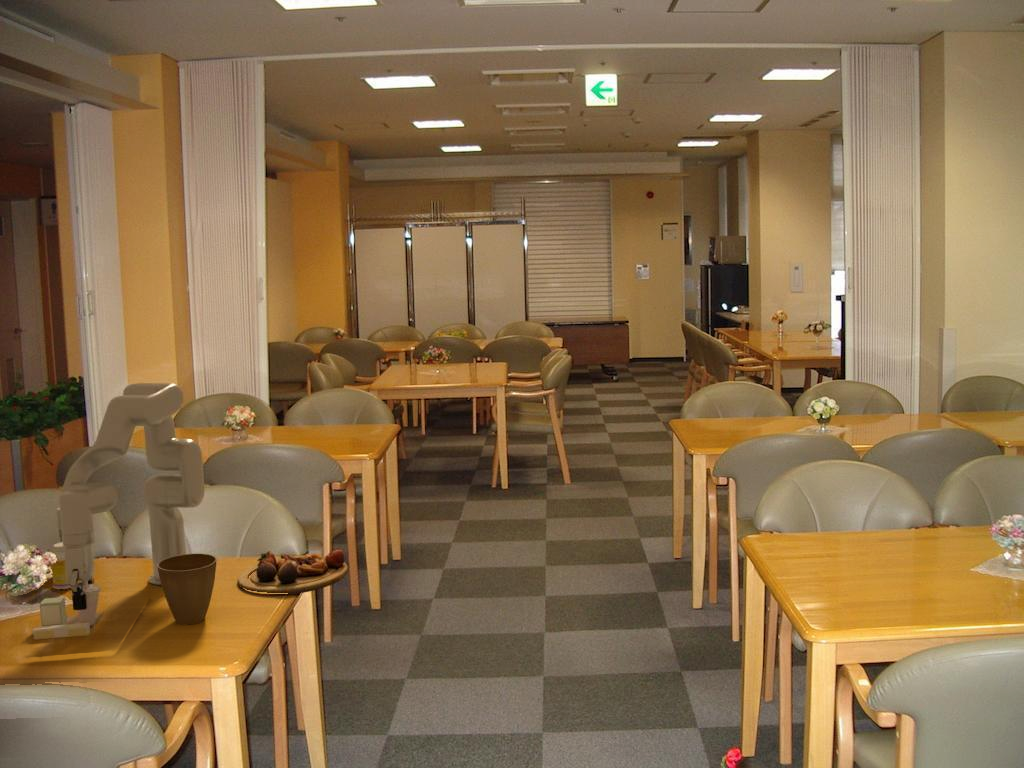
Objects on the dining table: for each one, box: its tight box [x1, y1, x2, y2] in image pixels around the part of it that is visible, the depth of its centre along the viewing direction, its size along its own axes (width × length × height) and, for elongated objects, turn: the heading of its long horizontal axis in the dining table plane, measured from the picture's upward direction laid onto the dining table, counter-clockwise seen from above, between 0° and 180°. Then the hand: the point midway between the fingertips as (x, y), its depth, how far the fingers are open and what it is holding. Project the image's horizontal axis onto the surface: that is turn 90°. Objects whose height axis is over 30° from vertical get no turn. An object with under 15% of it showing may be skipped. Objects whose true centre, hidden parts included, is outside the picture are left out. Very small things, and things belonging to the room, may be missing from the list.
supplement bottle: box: [51, 542, 79, 590], centre depth 297 cm, size 7×7×13 cm
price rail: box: [32, 623, 91, 640], centre depth 256 cm, size 13×2×4 cm, turn 98°
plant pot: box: [157, 553, 218, 625], centre depth 266 cm, size 15×15×16 cm
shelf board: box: [33, 612, 105, 641], centre depth 263 cm, size 13×16×1 cm
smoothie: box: [77, 582, 101, 626], centre depth 263 cm, size 6×6×14 cm
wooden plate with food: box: [237, 549, 349, 595], centre depth 299 cm, size 32×32×8 cm
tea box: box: [39, 596, 67, 627], centre depth 262 cm, size 5×4×7 cm
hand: (84, 603), depth 263 cm, fingers open, 7 cm apart
